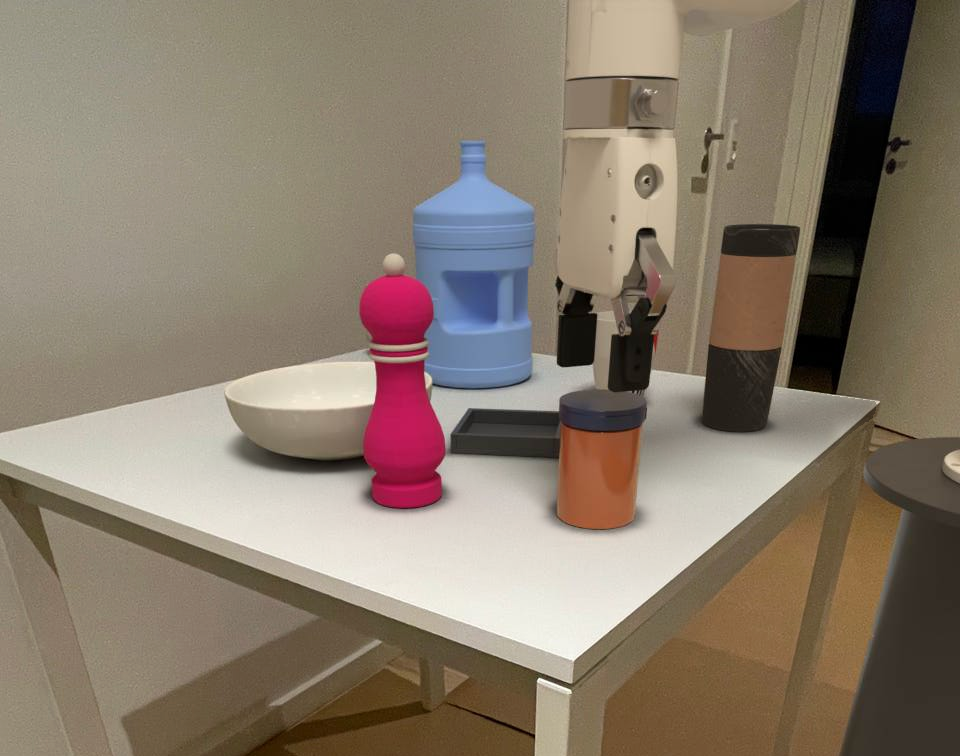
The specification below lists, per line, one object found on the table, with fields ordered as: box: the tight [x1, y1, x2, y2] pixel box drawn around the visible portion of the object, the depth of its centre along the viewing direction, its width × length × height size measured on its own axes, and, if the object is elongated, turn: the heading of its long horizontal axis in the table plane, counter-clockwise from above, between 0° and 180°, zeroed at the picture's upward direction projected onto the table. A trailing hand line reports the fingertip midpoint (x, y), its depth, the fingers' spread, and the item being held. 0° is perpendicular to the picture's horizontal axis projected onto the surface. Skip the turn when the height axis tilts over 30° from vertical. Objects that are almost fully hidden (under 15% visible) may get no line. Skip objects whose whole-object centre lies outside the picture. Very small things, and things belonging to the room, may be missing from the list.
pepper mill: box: [358, 253, 447, 509], centre depth 71 cm, size 7×7×20 cm
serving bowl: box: [223, 361, 434, 461], centre depth 87 cm, size 21×21×7 cm
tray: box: [450, 407, 560, 459], centre depth 90 cm, size 11×10×2 cm
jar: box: [556, 421, 644, 530], centre depth 69 cm, size 7×7×9 cm
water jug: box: [412, 140, 536, 389], centre depth 109 cm, size 16×16×28 cm
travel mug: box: [701, 223, 801, 433], centre depth 90 cm, size 8×8×20 cm
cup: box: [592, 310, 661, 397], centre depth 101 cm, size 8×8×10 cm
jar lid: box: [558, 389, 648, 431], centre depth 67 cm, size 7×7×2 cm
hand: (600, 376), depth 66 cm, fingers open, 8 cm apart
